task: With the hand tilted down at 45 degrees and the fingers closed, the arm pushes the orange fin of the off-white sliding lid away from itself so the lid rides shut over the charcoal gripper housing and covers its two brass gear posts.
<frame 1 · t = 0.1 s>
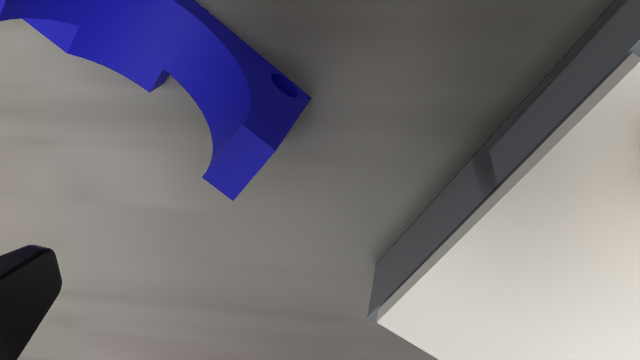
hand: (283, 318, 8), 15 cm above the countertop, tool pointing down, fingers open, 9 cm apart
cable clip: (187, 47, 23), on the countertop
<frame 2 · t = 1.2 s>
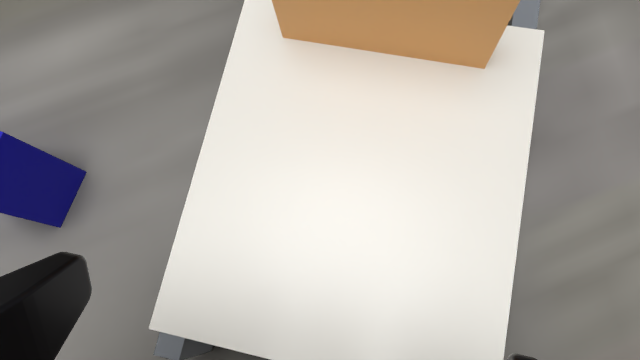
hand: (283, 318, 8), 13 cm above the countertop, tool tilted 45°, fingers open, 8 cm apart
lid: (353, 135, 14), point 9 cm above the countertop, slide at -7.0 cm
housing: (384, 68, 24), on the countertop
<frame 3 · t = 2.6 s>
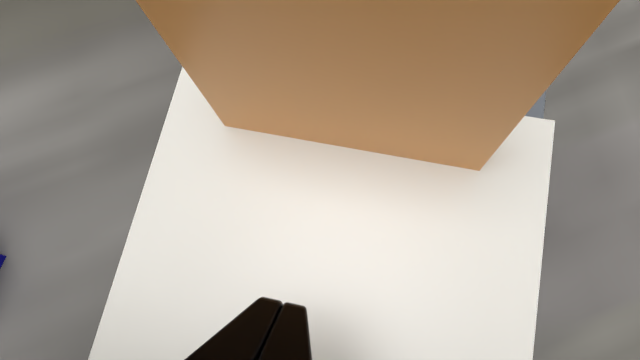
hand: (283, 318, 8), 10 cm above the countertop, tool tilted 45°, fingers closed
lid: (292, 309, 9), point 9 cm above the countertop, slide at -7.0 cm
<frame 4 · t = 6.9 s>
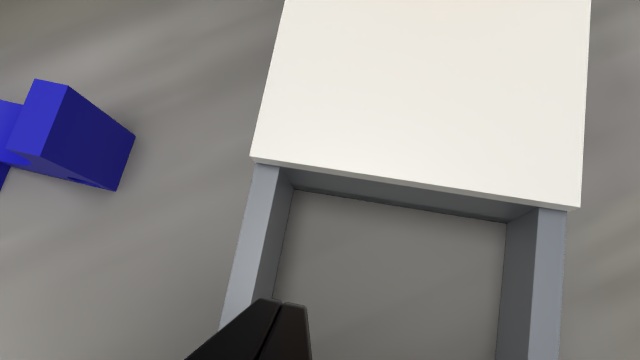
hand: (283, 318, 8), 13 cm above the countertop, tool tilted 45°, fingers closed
housing: (417, 71, 24), on the countertop
cable clip: (21, 155, 25), on the countertop
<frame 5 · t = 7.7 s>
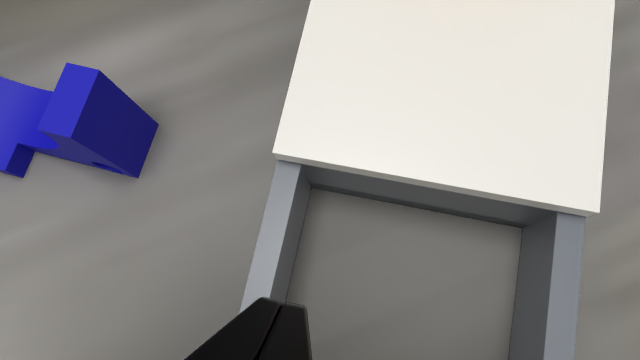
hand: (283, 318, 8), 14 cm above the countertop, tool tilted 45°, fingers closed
housing: (436, 75, 24), on the countertop
cable clip: (45, 140, 25), on the countertop
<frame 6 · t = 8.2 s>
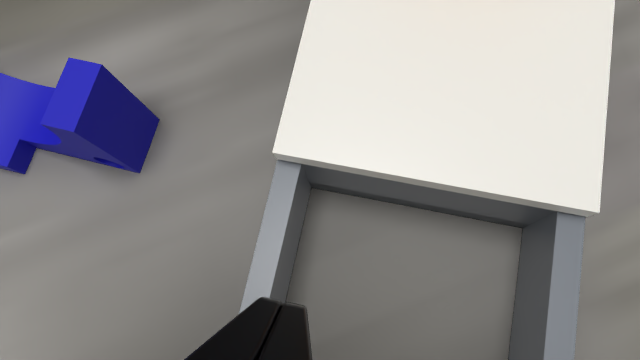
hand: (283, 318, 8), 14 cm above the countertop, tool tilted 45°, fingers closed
housing: (436, 75, 24), on the countertop
cable clip: (46, 137, 26), on the countertop
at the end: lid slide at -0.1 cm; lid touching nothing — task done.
